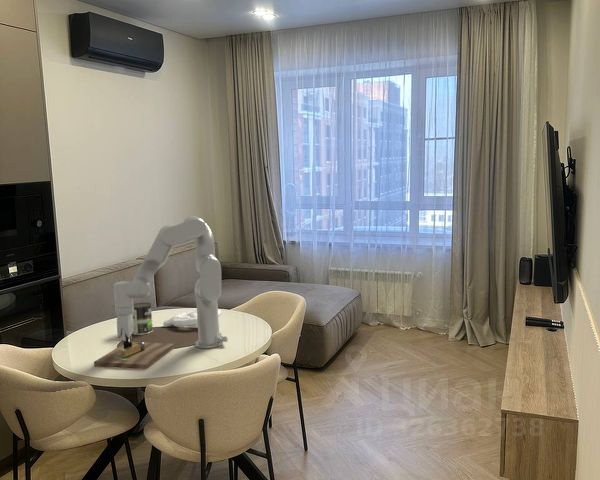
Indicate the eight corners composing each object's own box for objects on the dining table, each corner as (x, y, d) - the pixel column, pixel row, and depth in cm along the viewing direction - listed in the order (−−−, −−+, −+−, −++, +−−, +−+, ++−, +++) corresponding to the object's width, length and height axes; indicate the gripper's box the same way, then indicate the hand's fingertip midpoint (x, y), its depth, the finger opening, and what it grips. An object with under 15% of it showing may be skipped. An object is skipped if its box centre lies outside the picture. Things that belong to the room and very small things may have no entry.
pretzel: (160, 331, 272) (158, 319, 272) (184, 320, 295) (182, 309, 294) (207, 328, 263) (205, 315, 263) (229, 316, 285) (227, 305, 285)
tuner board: (174, 348, 241) (174, 343, 241) (146, 369, 216) (145, 364, 216) (127, 345, 247) (127, 341, 246) (94, 366, 222) (93, 361, 221)
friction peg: (141, 348, 236) (140, 340, 235) (146, 348, 234) (145, 341, 234) (119, 357, 225) (119, 349, 225) (124, 358, 224) (124, 350, 223)
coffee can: (156, 329, 272) (154, 302, 270) (147, 335, 262) (144, 307, 260) (138, 328, 274) (136, 302, 272) (128, 334, 264) (125, 307, 262)
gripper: (120, 306, 236) (124, 345, 238) (110, 315, 221) (114, 357, 223) (137, 305, 236) (141, 344, 239) (128, 314, 221) (132, 356, 224)
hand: (128, 350), depth 231 cm, fingers closed
